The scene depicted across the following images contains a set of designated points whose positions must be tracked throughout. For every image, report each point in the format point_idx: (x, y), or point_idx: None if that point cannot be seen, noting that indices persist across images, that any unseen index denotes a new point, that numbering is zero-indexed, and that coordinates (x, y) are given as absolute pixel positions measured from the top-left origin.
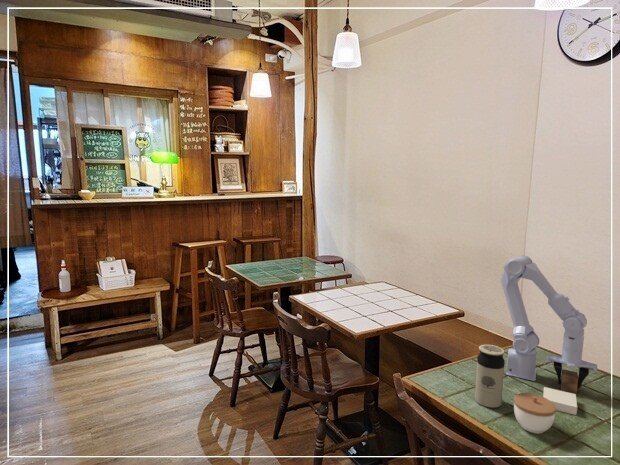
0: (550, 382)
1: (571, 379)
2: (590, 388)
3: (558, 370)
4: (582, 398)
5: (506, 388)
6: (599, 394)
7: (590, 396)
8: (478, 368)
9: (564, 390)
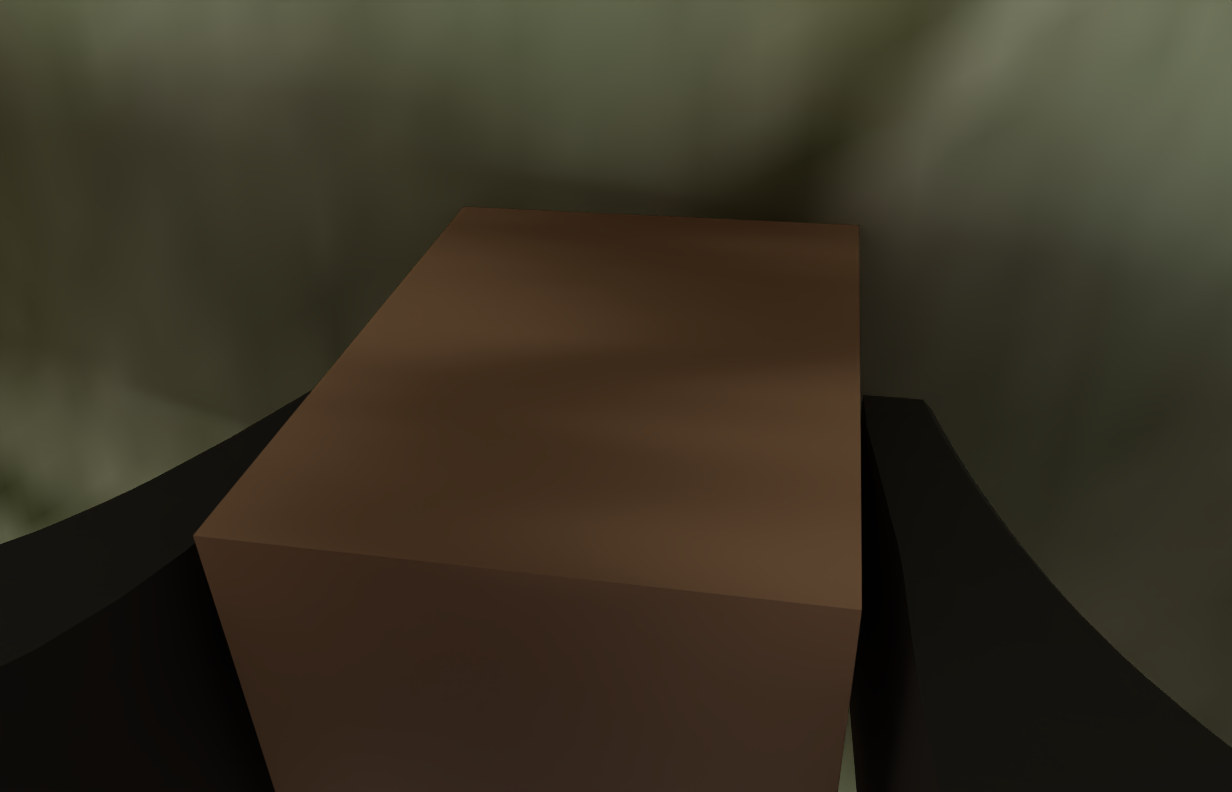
0: (1070, 583)
1: (496, 461)
2: None
3: (1120, 786)
4: (306, 15)
5: None
6: (60, 437)
7: (173, 251)
8: None
9: (764, 232)
